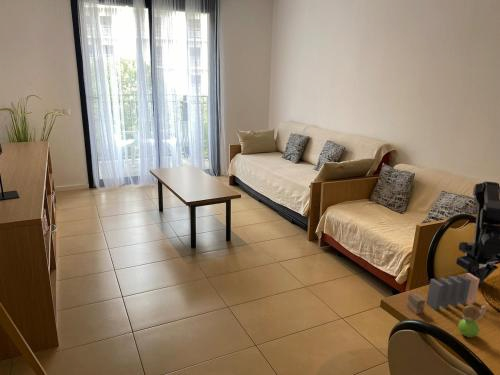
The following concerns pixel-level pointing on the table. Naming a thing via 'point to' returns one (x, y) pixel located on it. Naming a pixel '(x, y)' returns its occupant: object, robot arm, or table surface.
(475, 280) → the domino
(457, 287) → the domino
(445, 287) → the domino
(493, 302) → the table surface
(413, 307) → the stop block
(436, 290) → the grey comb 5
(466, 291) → the domino
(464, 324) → the snail figurine
